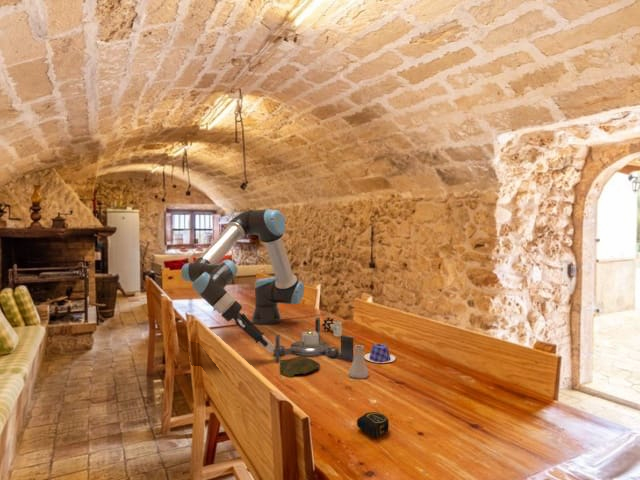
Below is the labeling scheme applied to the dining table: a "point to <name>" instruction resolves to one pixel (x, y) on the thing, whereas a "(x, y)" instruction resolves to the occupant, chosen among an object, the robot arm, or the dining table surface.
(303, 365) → the pottery fragment
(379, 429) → the tape measure
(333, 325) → the valve
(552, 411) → the dining table surface
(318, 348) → the tribrach
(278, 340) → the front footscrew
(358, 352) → the flask
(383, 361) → the pudding
